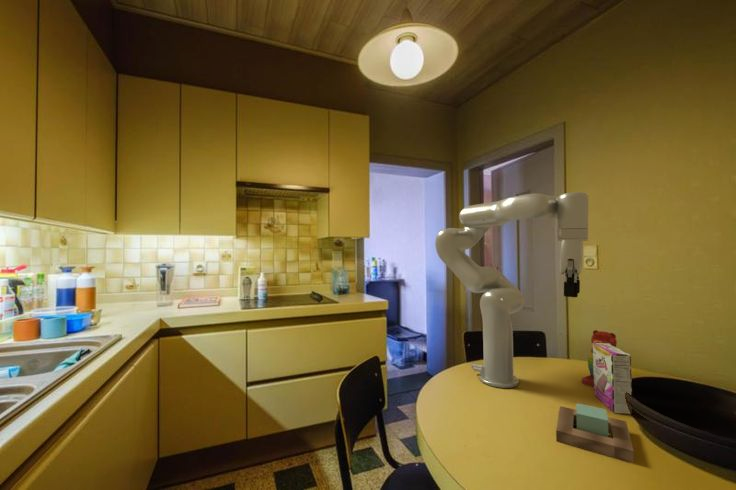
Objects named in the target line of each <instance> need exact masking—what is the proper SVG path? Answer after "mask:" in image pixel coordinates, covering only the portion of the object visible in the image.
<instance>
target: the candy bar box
mask: <svg viewBox="0 0 736 490" xmlns="http://www.w3.org/2000/svg"><path fill="white" fill-rule="evenodd" d="M591 344H592V348H593V374H594V386H593V396H595V398H596V399H598V401H600V402H601V403H602V404H603V405H604V406H605V407H606V408H608V409H609V410H610V411H611V412H612V413H613V414H616V415H617V414H618V415H621V414H622V415H629V416H630V415H631V414H630V411H629V409H628V406H627V404H626V399H625V393H626V392H627V393H629V394H630V395H632V396H633V387H632V386H633V384H632V383H633V382H632V354H630V353H627V352H625V351H624V350H621V349H620V348H618V347H617V346H616V347H615V346H613V345H611V344H609V343H592V342H591Z"/></svg>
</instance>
